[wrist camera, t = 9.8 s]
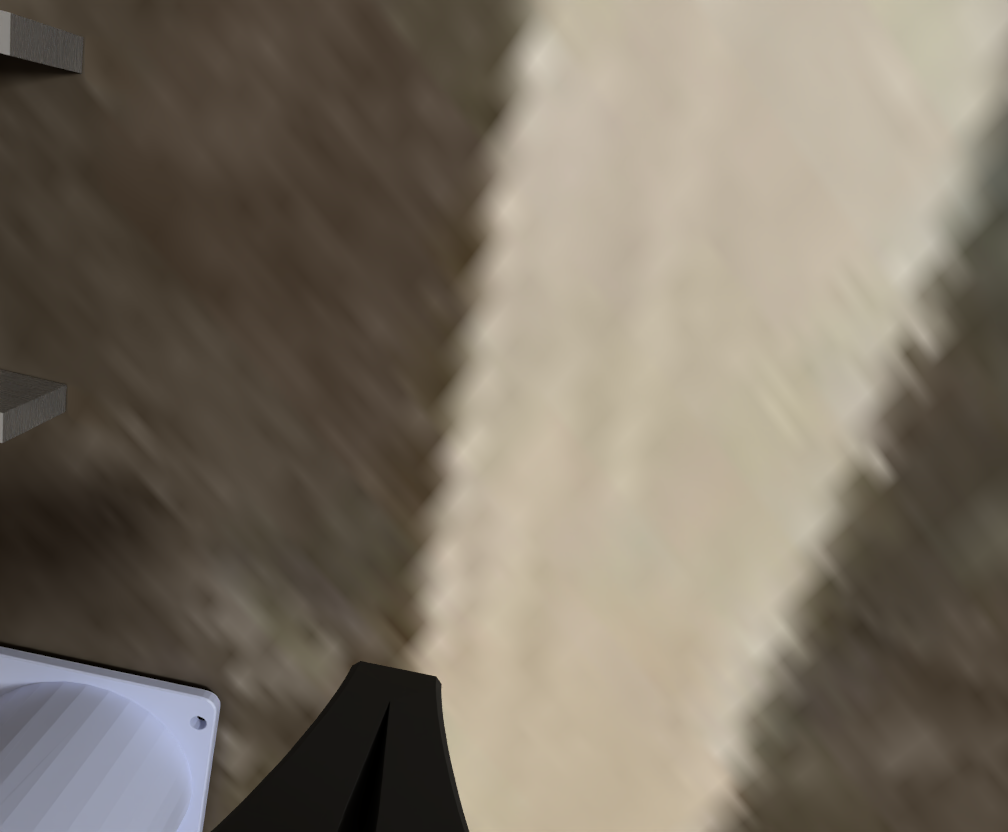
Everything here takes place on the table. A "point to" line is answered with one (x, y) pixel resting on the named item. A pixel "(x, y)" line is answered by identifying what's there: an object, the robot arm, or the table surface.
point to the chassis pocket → (3, 395)
